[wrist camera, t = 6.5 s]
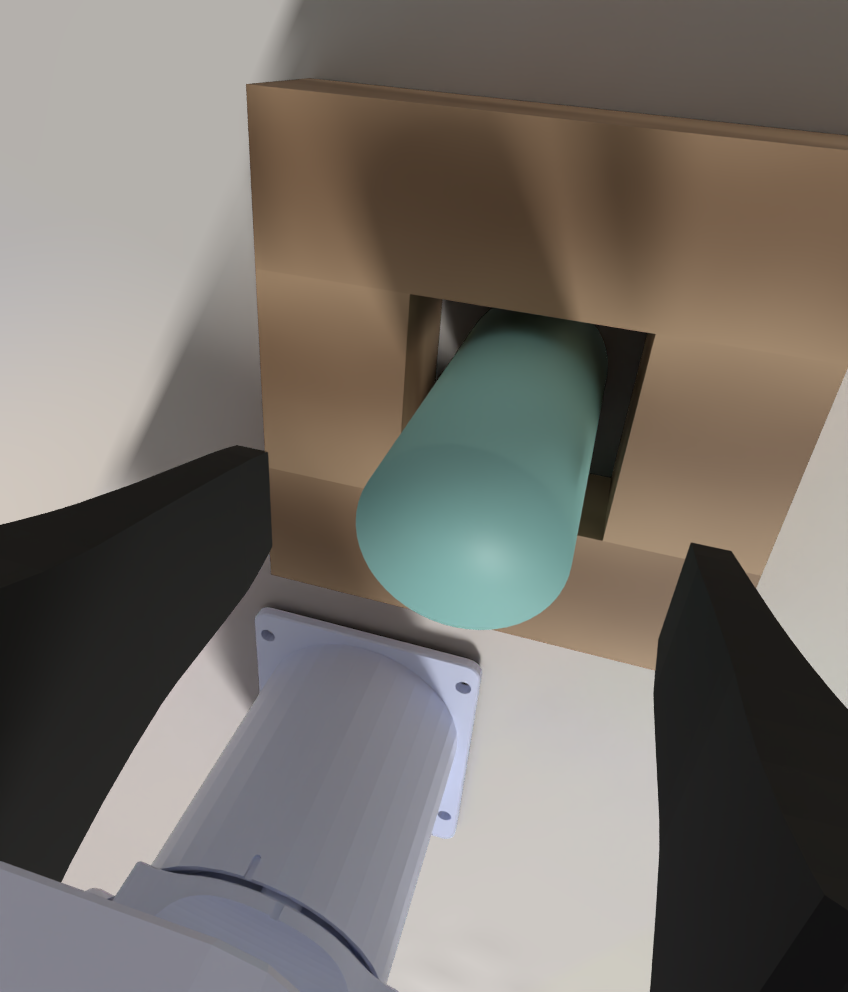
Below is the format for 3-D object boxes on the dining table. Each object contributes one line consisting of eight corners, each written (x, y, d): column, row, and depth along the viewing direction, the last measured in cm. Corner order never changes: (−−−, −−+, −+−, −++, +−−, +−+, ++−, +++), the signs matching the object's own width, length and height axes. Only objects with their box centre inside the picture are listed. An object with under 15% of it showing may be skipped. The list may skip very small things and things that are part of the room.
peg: (585, 446, 19) (541, 655, 13) (453, 410, 20) (345, 593, 13) (626, 314, 17) (600, 481, 11) (479, 279, 18) (368, 417, 11)
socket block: (710, 608, 21) (715, 685, 18) (313, 517, 23) (270, 574, 20) (888, 139, 14) (934, 160, 12) (309, 77, 16) (245, 84, 14)
